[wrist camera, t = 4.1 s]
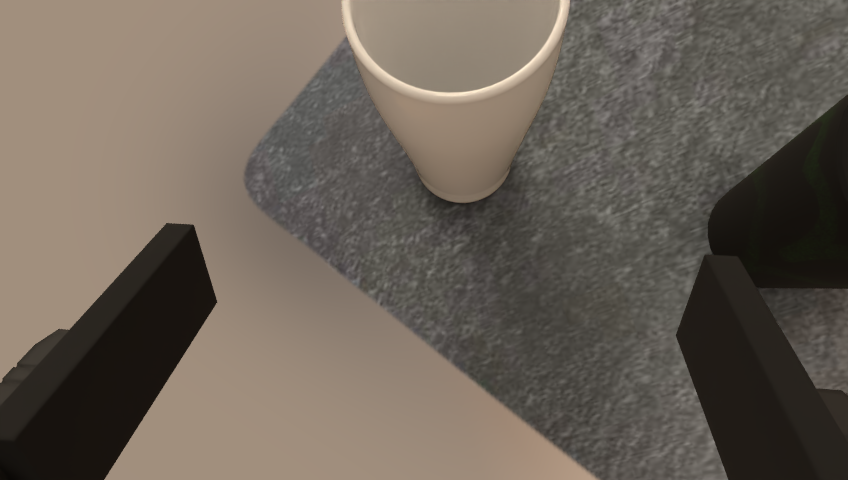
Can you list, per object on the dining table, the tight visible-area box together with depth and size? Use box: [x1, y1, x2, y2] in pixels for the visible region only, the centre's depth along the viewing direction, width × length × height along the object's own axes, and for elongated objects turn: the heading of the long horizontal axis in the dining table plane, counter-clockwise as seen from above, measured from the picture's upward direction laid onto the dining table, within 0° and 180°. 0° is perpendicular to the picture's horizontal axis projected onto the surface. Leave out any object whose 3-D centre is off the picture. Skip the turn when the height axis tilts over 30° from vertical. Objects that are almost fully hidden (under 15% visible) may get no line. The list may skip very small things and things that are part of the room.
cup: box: [708, 95, 848, 289], centre depth 22 cm, size 8×8×12 cm
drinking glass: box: [342, 0, 570, 203], centre depth 23 cm, size 7×7×15 cm
